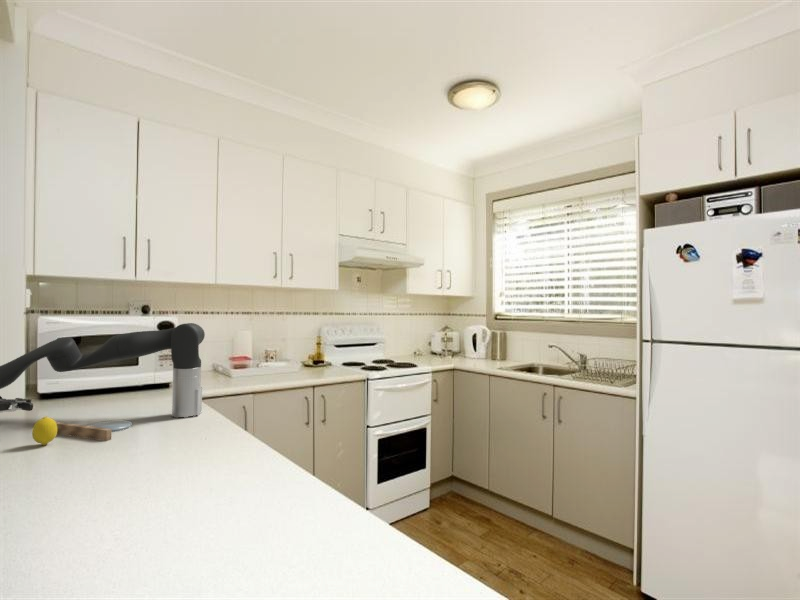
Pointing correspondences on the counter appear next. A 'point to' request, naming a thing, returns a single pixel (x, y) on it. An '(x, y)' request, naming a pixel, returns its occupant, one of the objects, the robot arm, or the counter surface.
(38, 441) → the lemon
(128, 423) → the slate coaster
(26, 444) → the counter surface
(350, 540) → the counter surface
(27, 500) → the counter surface
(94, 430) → the walnut wall
